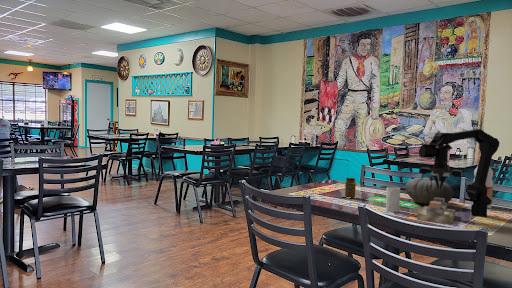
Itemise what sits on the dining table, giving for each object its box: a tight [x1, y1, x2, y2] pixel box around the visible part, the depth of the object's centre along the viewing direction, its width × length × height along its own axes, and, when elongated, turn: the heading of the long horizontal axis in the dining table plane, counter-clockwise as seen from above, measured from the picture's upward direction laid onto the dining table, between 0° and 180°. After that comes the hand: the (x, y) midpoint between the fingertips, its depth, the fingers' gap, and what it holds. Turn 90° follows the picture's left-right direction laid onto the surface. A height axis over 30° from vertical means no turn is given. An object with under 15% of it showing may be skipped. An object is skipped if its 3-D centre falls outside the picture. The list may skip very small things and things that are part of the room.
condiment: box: [344, 177, 357, 198], centre depth 223 cm, size 7×8×12 cm
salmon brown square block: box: [429, 201, 441, 209], centre depth 173 cm, size 4×4×3 cm
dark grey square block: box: [433, 197, 445, 205], centre depth 183 cm, size 4×4×3 cm
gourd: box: [405, 174, 454, 206], centre depth 212 cm, size 25×25×17 cm
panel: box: [416, 203, 456, 225], centre depth 178 cm, size 14×20×6 cm
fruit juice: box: [471, 156, 494, 209], centre depth 205 cm, size 9×9×28 cm
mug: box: [385, 186, 401, 213], centre depth 189 cm, size 10×7×12 cm, turn 145°
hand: (439, 189), depth 182 cm, fingers closed
